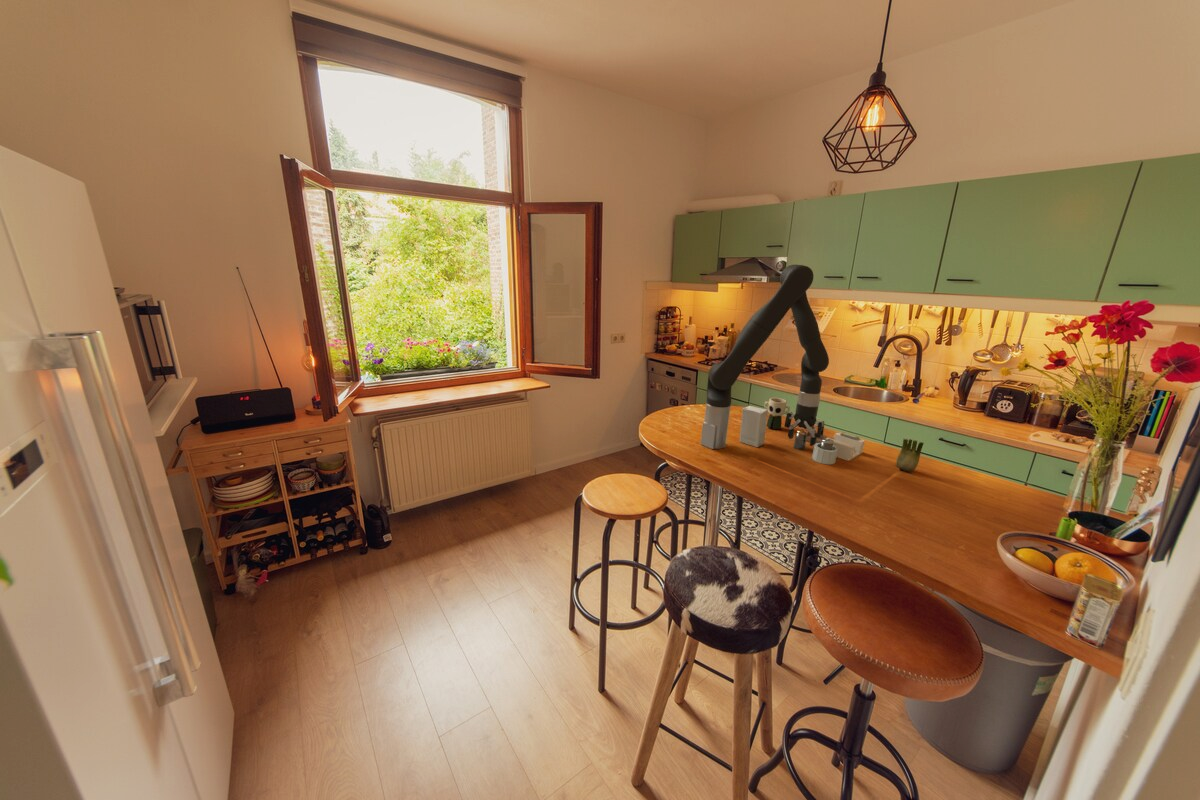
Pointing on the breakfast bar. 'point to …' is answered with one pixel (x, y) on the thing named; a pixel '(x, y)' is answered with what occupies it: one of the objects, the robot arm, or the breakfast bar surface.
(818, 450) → the white faceted round pot
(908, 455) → the fennel bulb
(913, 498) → the breakfast bar surface
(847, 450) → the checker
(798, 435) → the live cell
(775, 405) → the character mug
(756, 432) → the skincare box
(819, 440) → the trough
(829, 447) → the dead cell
